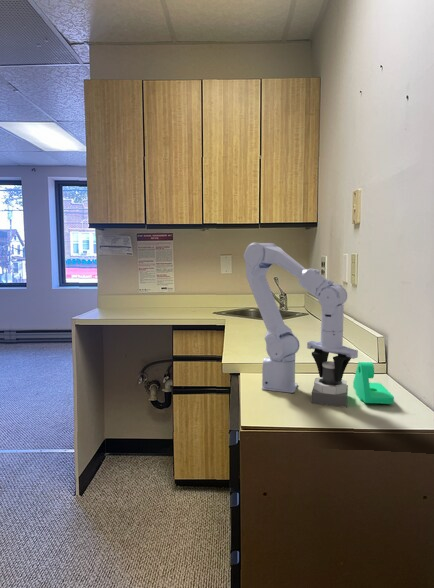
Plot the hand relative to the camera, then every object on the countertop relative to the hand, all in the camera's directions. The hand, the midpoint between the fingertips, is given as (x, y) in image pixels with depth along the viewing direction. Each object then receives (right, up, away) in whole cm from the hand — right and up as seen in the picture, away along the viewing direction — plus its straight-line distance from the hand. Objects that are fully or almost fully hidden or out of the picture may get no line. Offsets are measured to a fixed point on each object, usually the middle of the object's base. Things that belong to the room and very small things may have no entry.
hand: (330, 378), depth 108 cm
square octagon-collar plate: (0, -6, +1) cm, 6 cm away
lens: (0, -2, 0) cm, 2 cm away
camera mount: (+12, -6, +1) cm, 14 cm away
